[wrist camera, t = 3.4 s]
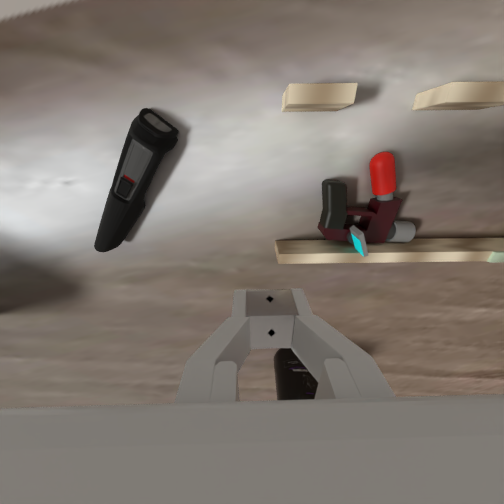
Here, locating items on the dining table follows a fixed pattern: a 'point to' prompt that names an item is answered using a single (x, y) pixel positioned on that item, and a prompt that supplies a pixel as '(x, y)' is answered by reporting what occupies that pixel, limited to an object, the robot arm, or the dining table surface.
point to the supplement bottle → (293, 377)
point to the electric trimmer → (134, 176)
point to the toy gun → (366, 210)
